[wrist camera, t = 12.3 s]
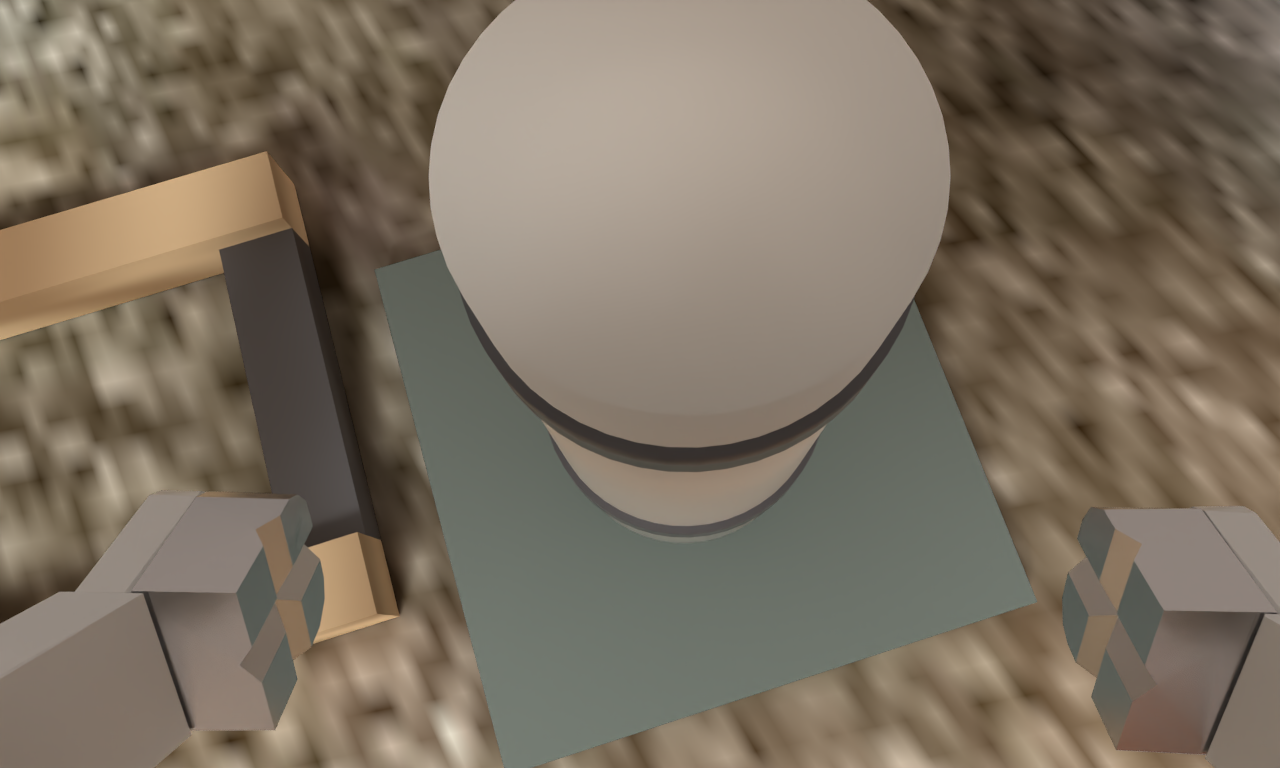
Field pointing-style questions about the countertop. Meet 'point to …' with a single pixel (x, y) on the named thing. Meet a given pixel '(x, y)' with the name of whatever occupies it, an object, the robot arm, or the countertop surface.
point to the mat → (689, 545)
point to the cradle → (266, 327)
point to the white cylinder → (688, 234)
